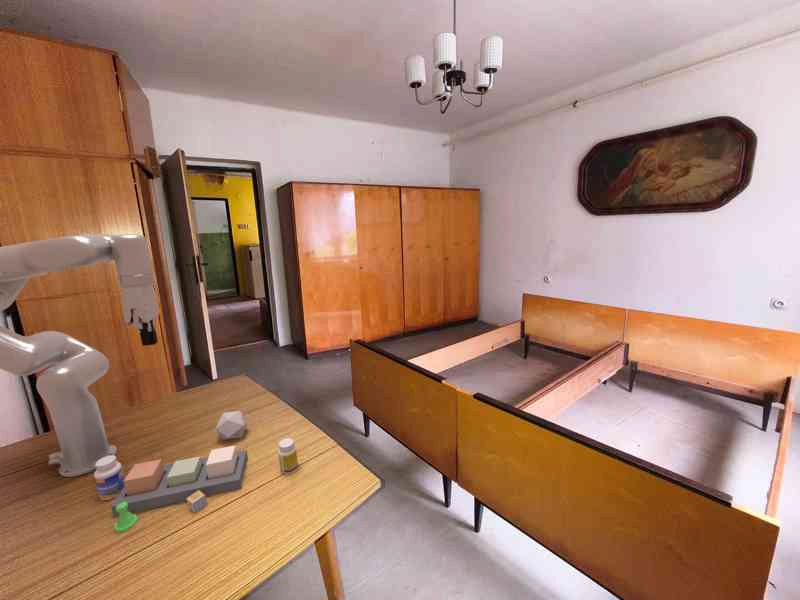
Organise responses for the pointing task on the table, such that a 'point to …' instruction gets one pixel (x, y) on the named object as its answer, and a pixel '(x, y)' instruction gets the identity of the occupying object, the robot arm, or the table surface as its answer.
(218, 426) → the die
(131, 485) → the terracotta block
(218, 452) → the cream block
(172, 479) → the green block
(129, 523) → the game piece
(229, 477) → the board
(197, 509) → the alphabet block
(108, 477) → the pill bottle
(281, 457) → the supplement bottle
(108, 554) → the table surface
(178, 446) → the table surface
